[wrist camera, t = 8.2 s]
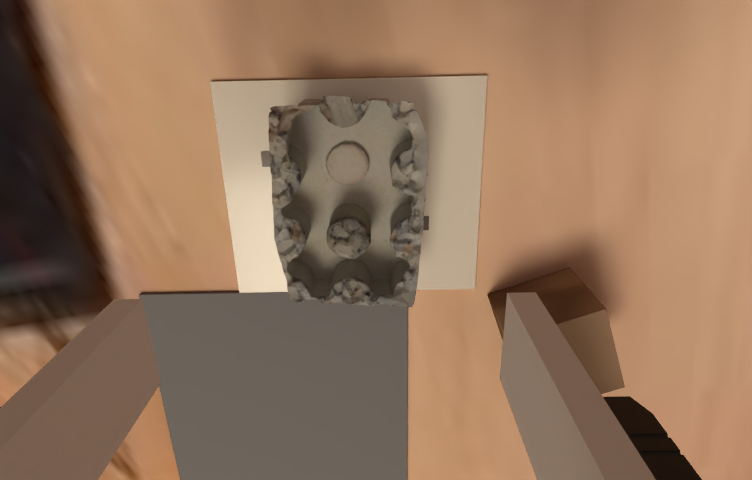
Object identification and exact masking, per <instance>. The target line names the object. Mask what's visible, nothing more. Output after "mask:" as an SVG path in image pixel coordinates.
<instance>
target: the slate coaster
mask: <svg viewBox="0 0 752 480" xmlns="http://www.w3.org/2000/svg"><path fill="white" fill-rule="evenodd" d="M139 297H140V299H142V300H143V304H144V309H145V313H146V318H147V322H148V327H149V331H150V336H151V340H152V345H153V349H154V354H155V358H156V363H157V367H158V372H159V377H160V381H161V383H160V385H159V387H160V391H161V396H162V400H163V405H164V409H165V414H166V418H167V423H168V427H169V432H170V436H171V441H172V445H173V450H174V454H175V459H176V463H177V467H178V472H179V476H180V480H407V307H397V306H391V305H387V304H379V305H376V306H373V307H371V306H365V305H348V304H344V303H332V304H328V305H326V304H322V303H321V302H320V301H317V300H303V301H301V302H293V301H291V299H290V297H289V294H288V292H267V293H239V292H195V293H140V294H139Z"/></svg>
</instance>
